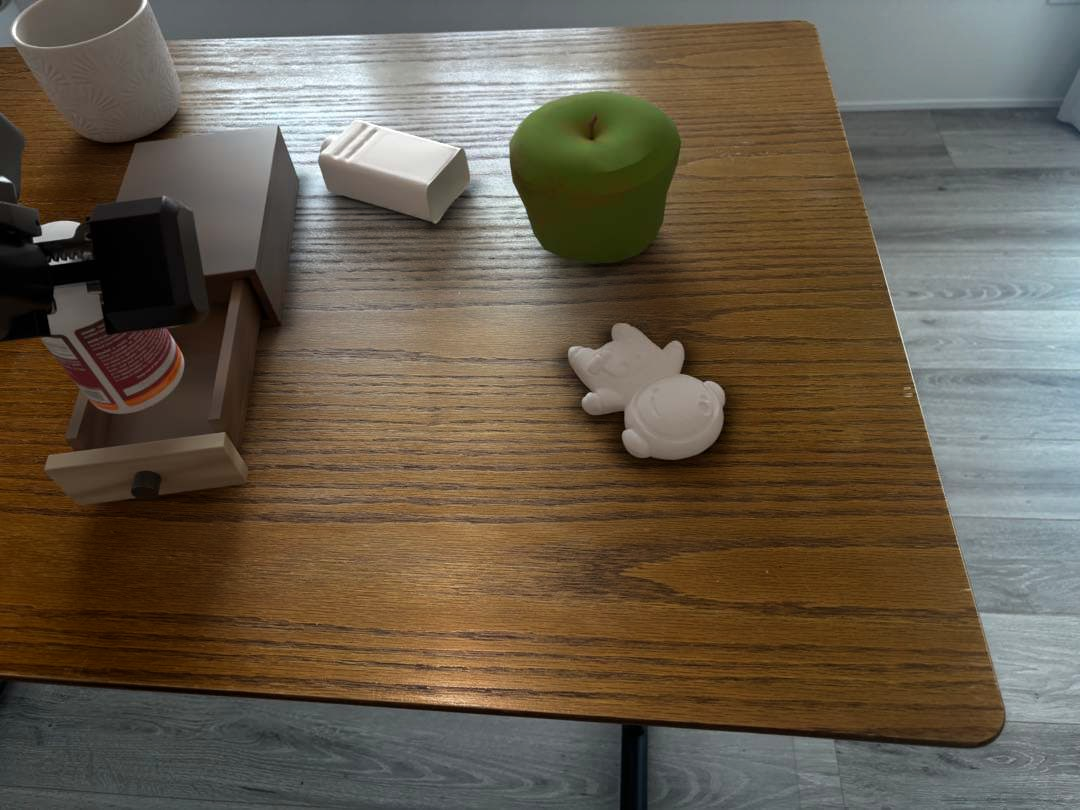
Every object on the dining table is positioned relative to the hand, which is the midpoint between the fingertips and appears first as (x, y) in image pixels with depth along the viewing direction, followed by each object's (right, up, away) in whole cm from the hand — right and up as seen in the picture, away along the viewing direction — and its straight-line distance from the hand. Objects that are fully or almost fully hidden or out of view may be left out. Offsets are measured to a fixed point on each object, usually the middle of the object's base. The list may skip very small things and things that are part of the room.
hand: (93, 290), depth 50 cm
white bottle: (+14, +12, +25) cm, 31 cm away
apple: (+31, +7, +19) cm, 37 cm away
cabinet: (-1, +6, +21) cm, 22 cm away
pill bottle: (+1, -5, +4) cm, 7 cm away
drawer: (+1, -6, +11) cm, 12 cm away
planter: (-15, +22, +36) cm, 45 cm away
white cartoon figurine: (+34, -6, +9) cm, 35 cm away
